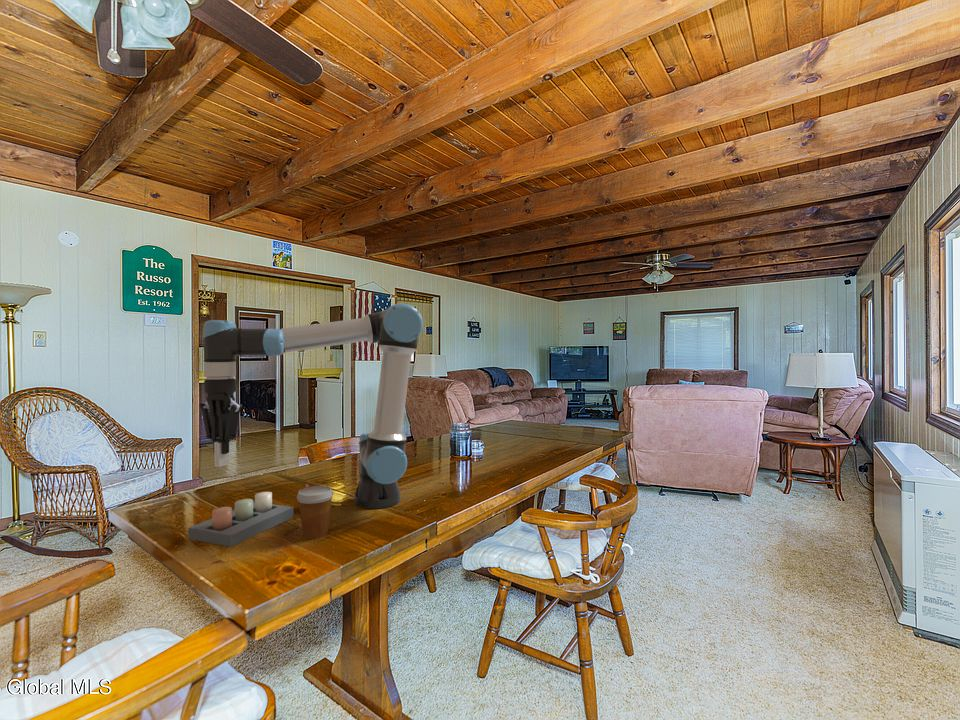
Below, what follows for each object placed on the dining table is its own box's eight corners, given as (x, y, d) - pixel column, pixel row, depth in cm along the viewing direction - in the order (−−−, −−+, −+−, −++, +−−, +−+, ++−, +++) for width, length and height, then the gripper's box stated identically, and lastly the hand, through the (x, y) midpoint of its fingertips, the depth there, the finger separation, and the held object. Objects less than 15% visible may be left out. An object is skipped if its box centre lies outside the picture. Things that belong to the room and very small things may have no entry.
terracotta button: (236, 526, 122) (235, 507, 122) (221, 532, 118) (220, 513, 118) (223, 523, 124) (223, 505, 124) (208, 530, 119) (208, 511, 119)
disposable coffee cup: (297, 543, 116) (296, 498, 116) (296, 530, 125) (296, 487, 125) (335, 537, 120) (335, 493, 120) (332, 525, 129) (331, 483, 128)
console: (293, 517, 135) (293, 507, 135) (230, 546, 114) (230, 535, 114) (255, 511, 140) (255, 501, 140) (188, 538, 120) (188, 527, 119)
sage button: (256, 517, 129) (256, 499, 129) (243, 522, 124) (243, 504, 124) (244, 515, 130) (244, 498, 130) (231, 520, 126) (230, 503, 126)
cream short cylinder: (275, 509, 135) (275, 492, 135) (263, 514, 131) (263, 497, 131) (263, 507, 137) (263, 491, 137) (251, 512, 132) (251, 495, 132)
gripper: (250, 377, 121) (251, 464, 122) (214, 376, 126) (215, 460, 126) (226, 379, 114) (227, 471, 115) (189, 378, 119) (190, 466, 119)
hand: (221, 465), depth 120 cm, fingers closed
